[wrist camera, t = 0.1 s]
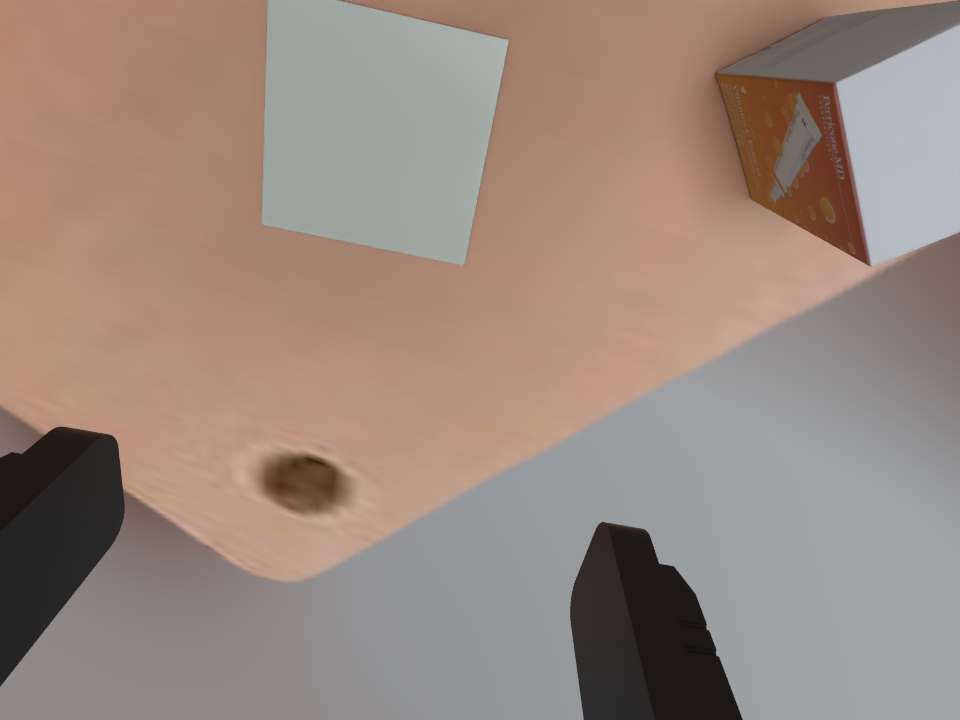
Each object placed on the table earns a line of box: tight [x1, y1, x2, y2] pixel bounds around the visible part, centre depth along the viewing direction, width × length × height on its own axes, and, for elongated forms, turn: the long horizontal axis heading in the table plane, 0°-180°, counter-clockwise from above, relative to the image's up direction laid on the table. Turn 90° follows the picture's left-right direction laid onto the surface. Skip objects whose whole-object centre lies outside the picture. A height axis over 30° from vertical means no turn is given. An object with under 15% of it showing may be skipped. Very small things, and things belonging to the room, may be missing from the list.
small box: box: [716, 0, 960, 267], centre depth 28 cm, size 8×6×13 cm
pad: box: [262, 0, 509, 265], centre depth 34 cm, size 13×13×1 cm
